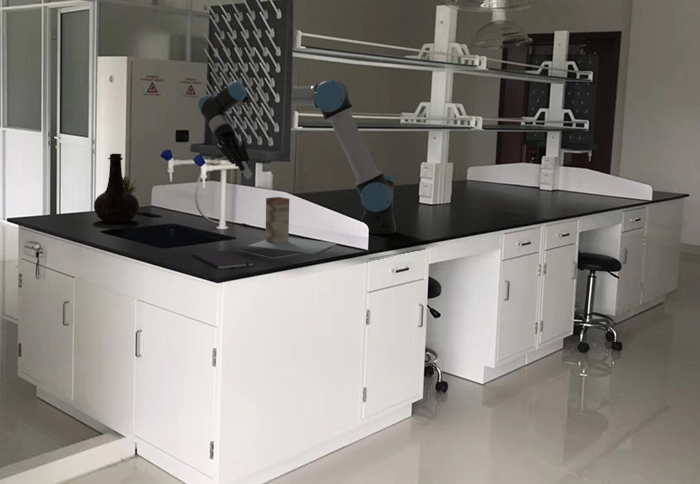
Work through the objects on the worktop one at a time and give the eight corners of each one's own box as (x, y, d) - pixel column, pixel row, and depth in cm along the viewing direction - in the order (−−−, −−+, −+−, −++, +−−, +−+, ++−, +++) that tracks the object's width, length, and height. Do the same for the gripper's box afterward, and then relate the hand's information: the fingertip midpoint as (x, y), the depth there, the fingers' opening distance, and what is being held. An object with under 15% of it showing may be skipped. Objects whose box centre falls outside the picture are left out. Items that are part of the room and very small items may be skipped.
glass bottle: (111, 226, 309) (110, 156, 304) (85, 221, 320) (83, 152, 315) (148, 222, 324) (147, 154, 318) (121, 216, 334) (120, 151, 329)
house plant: (102, 207, 357) (101, 172, 354) (130, 205, 366) (129, 171, 363) (117, 211, 347) (117, 175, 344) (145, 209, 356) (145, 174, 353)
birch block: (265, 240, 288) (266, 198, 285) (277, 239, 293) (278, 196, 290) (276, 243, 284) (277, 199, 282) (288, 241, 289) (289, 198, 286)
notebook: (191, 257, 260) (217, 270, 243) (191, 253, 260) (217, 265, 243) (226, 254, 267) (254, 267, 250) (226, 250, 267) (254, 262, 250)
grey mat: (276, 237, 299) (276, 236, 299) (338, 244, 289) (338, 243, 289) (247, 247, 279) (247, 245, 279) (313, 255, 269) (313, 253, 269)
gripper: (231, 135, 310) (257, 182, 302) (204, 136, 300) (231, 183, 292) (239, 123, 305) (267, 169, 297) (213, 123, 296) (240, 171, 288)
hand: (249, 176), depth 295 cm, fingers closed
